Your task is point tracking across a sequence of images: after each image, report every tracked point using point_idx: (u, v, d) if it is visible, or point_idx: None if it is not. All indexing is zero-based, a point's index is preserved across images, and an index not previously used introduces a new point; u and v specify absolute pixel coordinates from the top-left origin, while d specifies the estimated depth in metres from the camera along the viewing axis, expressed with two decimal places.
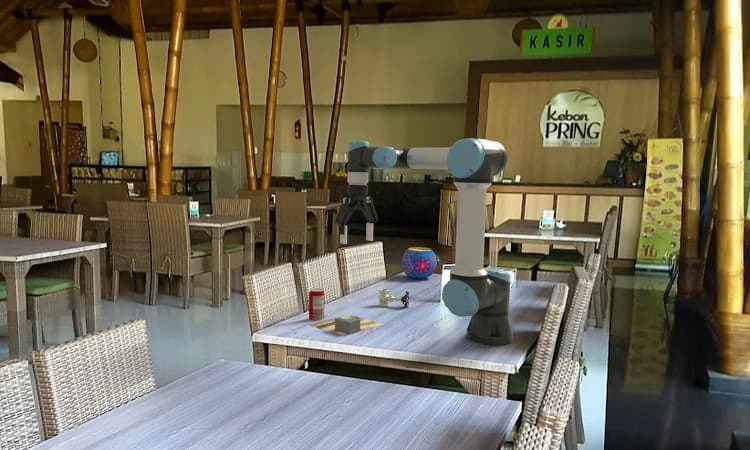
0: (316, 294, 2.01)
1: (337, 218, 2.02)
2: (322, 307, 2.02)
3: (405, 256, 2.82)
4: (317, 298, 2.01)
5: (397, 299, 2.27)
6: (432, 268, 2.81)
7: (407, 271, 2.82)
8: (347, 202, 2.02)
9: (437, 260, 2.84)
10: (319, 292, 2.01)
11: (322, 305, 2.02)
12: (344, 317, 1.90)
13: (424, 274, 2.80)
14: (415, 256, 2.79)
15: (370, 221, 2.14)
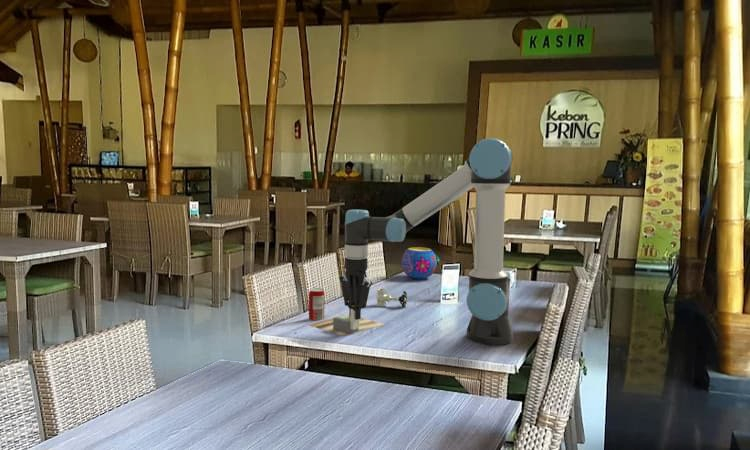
0: (316, 294, 2.01)
1: None
2: (322, 307, 2.02)
3: (405, 256, 2.82)
4: (317, 298, 2.01)
5: (395, 299, 2.28)
6: (432, 268, 2.81)
7: (407, 271, 2.82)
8: (341, 280, 1.88)
9: (437, 260, 2.84)
10: (319, 292, 2.01)
11: (322, 305, 2.02)
12: (342, 317, 1.90)
13: (424, 274, 2.80)
14: (415, 256, 2.79)
15: None
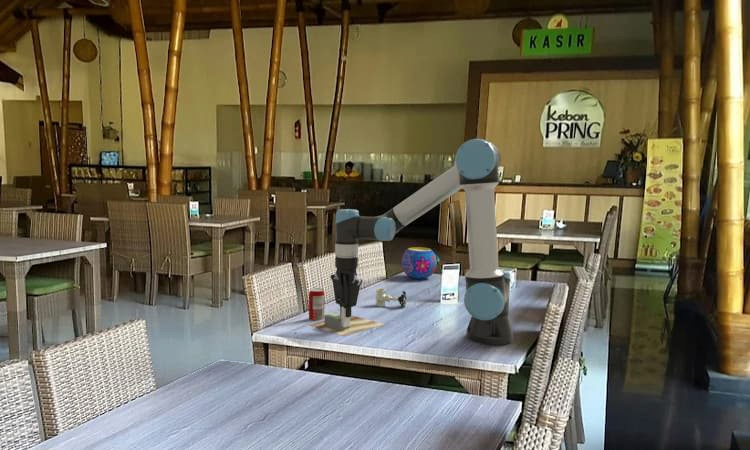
0: (316, 294, 2.01)
1: None
2: (322, 307, 2.02)
3: (405, 256, 2.82)
4: (317, 298, 2.01)
5: (394, 299, 2.28)
6: (432, 268, 2.81)
7: (407, 271, 2.82)
8: (332, 279, 1.91)
9: (437, 260, 2.84)
10: (319, 292, 2.01)
11: (322, 305, 2.02)
12: (334, 314, 1.93)
13: (424, 274, 2.80)
14: (415, 256, 2.79)
15: None
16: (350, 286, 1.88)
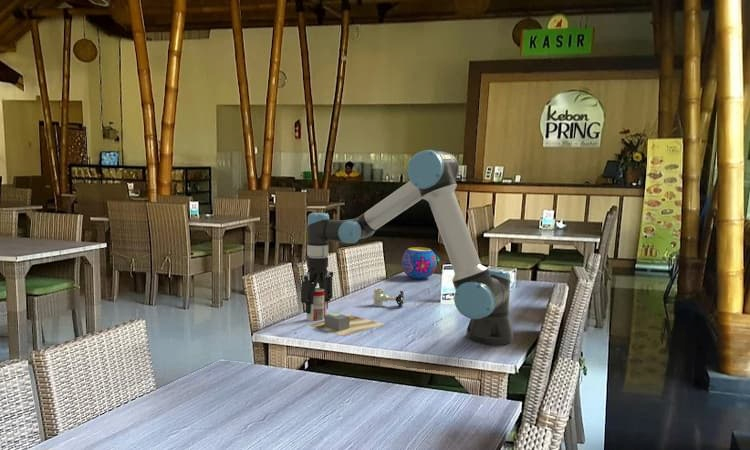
0: (316, 294, 2.01)
1: (302, 298, 1.99)
2: (322, 307, 2.02)
3: (405, 256, 2.82)
4: (318, 298, 2.01)
5: (391, 299, 2.28)
6: (432, 268, 2.81)
7: (407, 271, 2.82)
8: (307, 280, 1.98)
9: (437, 260, 2.84)
10: (319, 292, 2.01)
11: (322, 305, 2.02)
12: (333, 314, 1.93)
13: (424, 274, 2.80)
14: (415, 256, 2.79)
15: None
16: None
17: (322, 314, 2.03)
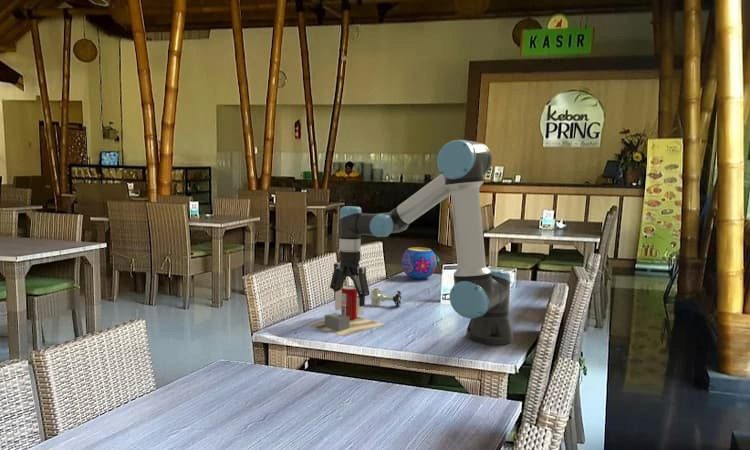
0: None
1: None
2: (344, 305, 2.01)
3: (405, 256, 2.82)
4: None
5: (389, 298, 2.28)
6: (432, 268, 2.81)
7: (407, 271, 2.82)
8: (335, 267, 2.05)
9: (437, 260, 2.84)
10: (342, 289, 2.01)
11: (344, 303, 2.01)
12: (333, 314, 1.93)
13: (424, 274, 2.80)
14: (415, 256, 2.79)
15: None
16: (357, 277, 2.00)
17: (344, 312, 2.01)
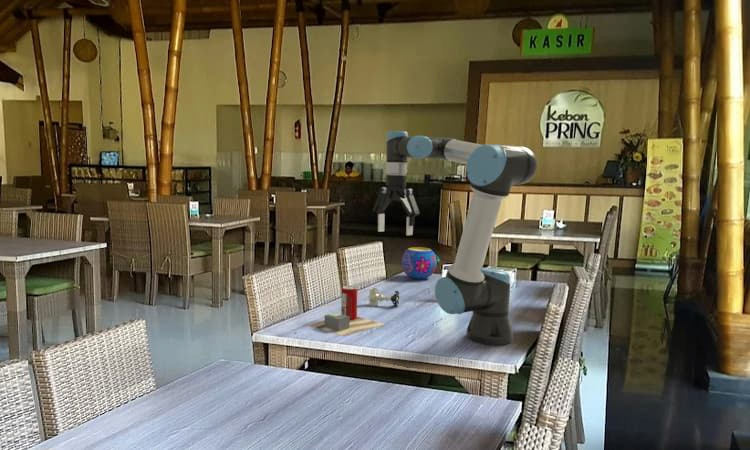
0: None
1: None
2: (344, 305, 2.01)
3: (405, 256, 2.82)
4: None
5: (387, 298, 2.28)
6: (432, 268, 2.81)
7: (407, 271, 2.82)
8: (380, 191, 2.09)
9: (437, 260, 2.84)
10: (343, 289, 2.01)
11: (344, 303, 2.01)
12: (333, 314, 1.93)
13: (424, 274, 2.80)
14: (415, 256, 2.79)
15: None
16: (404, 199, 2.03)
17: (344, 312, 2.01)
